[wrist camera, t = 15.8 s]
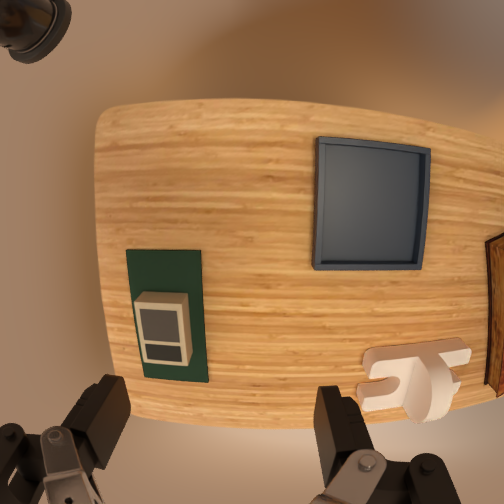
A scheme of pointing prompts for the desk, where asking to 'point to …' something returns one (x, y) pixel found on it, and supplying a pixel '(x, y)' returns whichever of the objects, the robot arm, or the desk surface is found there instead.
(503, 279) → the book
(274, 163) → the desk surface
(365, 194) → the tray
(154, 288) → the mat
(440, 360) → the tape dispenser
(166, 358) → the beige rectangular block
